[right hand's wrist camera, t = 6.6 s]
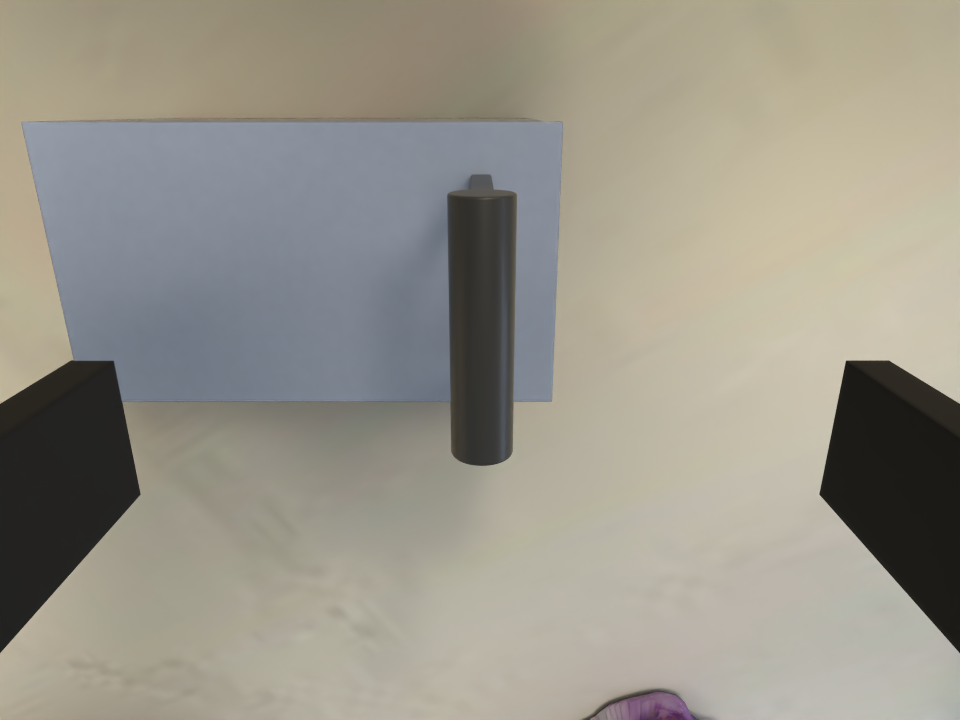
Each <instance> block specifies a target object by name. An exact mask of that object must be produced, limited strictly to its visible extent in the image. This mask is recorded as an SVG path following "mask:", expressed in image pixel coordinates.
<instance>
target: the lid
mask: <svg viewBox="0 0 960 720" xmlns="http://www.w3.org/2000/svg"><path fill="white" fill-rule="evenodd" d="M22 128H23V132H24V137H25V141H26V146H27V150H28V155H29V159H30V164H31V168H32V173H33V177H34V182H35V186H36V191H37V195H38V200H39V204H40V209H41V214H42V218H43V223H44V227H45V232H46V236H47V241H48V245H49V250H50V254H51V259H52V263H53V268H54V272H55V277H56V281H57V286H58V290H59V295H60V300H61V304H62V309H63V313H64V318H65V322H66V327H67V331H68V336H69V340H70V345H71V349H72V354H73V358H74V361H114V364H115V369H116V374H117V379H118V384H119V389H120V394H121V399H122V402H450V403H451V452H452V454H453V456H454V457H455V458H456V459H457V460H459V461H461V462H463V463H466V464H470V465H478V466H487V465H494V464H498V463H501V462H503V461H505V460H507V459H508V458H509V457H510V456H511V454H512V451H513V402H551V401H552V385H553V360H554V335H555V310H556V285H557V260H558V235H559V210H560V185H561V160H562V135H563V122H559V121H37V122H22Z"/></svg>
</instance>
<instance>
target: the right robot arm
mask: <svg viewBox="0 0 960 720" xmlns="http://www.w3.org/2000/svg"><path fill="white" fill-rule="evenodd" d="M139 496H140V489H139V484H138V479H137V474H136V469H135V464H134V459H133V454H132V449H131V444H130V439H129V434H128V429H127V424H126V419H125V414H124V409H123V404H122V399H121V394H120V389H119V384H118V379H117V374H116V369H115V364H114V361H70V362H68V363H66V364H65V365H63V366H62V367H60V368H58V369H57V370H55V371H53V372H52V373H50V374H48V375H47V376H45V377H44V378H42V379H40V380H39V381H37V382H35V383H34V384H32V385H30V386H29V387H27V388H26V389H24V390H22V391H21V392H19V393H17V394H16V395H14V396H12V397H11V398H9V399H7V400H6V401H4V402H3V403H1V404H0V653H1V651H2V650H3V649H4V648H5V647H6V646H7V645H8V644H9V642H10V641H11V640H12V639H13V638H14V637H15V636H16V635H17V633H18V632H19V631H20V630H21V629H22V628H23V627H24V625H25V624H26V623H27V622H28V621H29V620H30V619H31V618H32V616H33V615H34V614H35V613H36V612H37V611H38V610H39V609H40V607H41V606H42V605H43V604H44V603H45V602H46V601H47V600H48V598H49V597H50V596H51V595H52V594H53V593H54V592H55V590H56V589H57V588H58V587H59V586H60V585H61V584H62V583H63V581H64V580H65V579H66V578H67V577H68V576H69V575H70V574H71V572H72V571H73V570H74V569H75V568H76V567H77V566H78V564H79V563H80V562H81V561H82V560H83V559H84V558H85V557H86V555H87V554H88V553H89V552H90V551H91V550H92V549H93V548H94V546H95V545H96V544H97V543H98V542H99V541H100V540H101V539H102V537H103V536H104V535H105V534H106V533H107V532H108V531H109V529H110V528H111V527H112V526H113V525H114V524H115V523H116V522H117V520H118V519H119V518H120V517H121V516H122V515H123V514H124V513H125V511H126V510H127V509H128V508H129V507H130V506H131V505H132V504H133V502H134V501H135V500H136V499H137V498H138V497H139ZM820 496H821V497H822V498H823V499H824V500H825V501H826V502H827V504H828V505H829V506H830V507H831V508H832V509H833V510H834V511H835V513H836V514H837V515H838V516H839V517H840V518H841V519H842V520H843V522H844V523H845V524H846V525H847V526H848V527H849V528H850V529H851V531H852V532H853V533H854V534H855V535H856V536H857V537H858V539H859V540H860V541H861V542H862V543H863V544H864V545H865V546H866V548H867V549H868V550H869V551H870V552H871V553H872V554H873V555H874V557H875V558H876V559H877V560H878V561H879V562H880V563H881V565H882V566H883V567H884V568H885V569H886V570H887V571H888V572H889V574H890V575H891V576H892V577H893V578H894V579H895V580H896V581H897V583H898V584H899V585H900V586H901V587H902V588H903V589H904V590H905V592H906V593H907V594H908V595H909V596H910V597H911V598H912V600H913V601H914V602H915V603H916V604H917V605H918V606H919V607H920V609H921V610H922V611H923V612H924V613H925V614H926V615H927V616H928V618H929V619H930V620H931V621H932V622H933V623H934V624H935V625H936V627H937V628H938V629H939V630H940V631H941V632H942V633H943V635H944V636H945V637H946V638H947V639H948V640H949V641H950V642H951V644H952V645H953V646H954V647H955V648H956V649H957V650H958V651H959V653H960V404H959V403H957V402H956V401H954V400H952V399H951V398H949V397H948V396H946V395H944V394H943V393H941V392H939V391H938V390H936V389H934V388H933V387H931V386H930V385H928V384H926V383H925V382H923V381H921V380H920V379H918V378H916V377H915V376H913V375H912V374H910V373H908V372H907V371H905V370H903V369H902V368H900V367H898V366H897V365H895V364H894V363H892V362H890V361H846V364H845V369H844V374H843V379H842V384H841V389H840V394H839V399H838V404H837V409H836V414H835V419H834V424H833V429H832V434H831V439H830V444H829V449H828V454H827V459H826V464H825V469H824V474H823V479H822V484H821V489H820Z"/></svg>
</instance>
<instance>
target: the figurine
mask: <svg viewBox="0 0 960 720" xmlns="http://www.w3.org/2000/svg"><path fill="white" fill-rule="evenodd" d="M589 720H697V719H696V718H694V717H693V716H692V715H691V714H690V713H689V711H688V709H687V706H686V704H685V702H684V701H683V700H682V699H681V698H679V697H678V696H676V695H675V694H669V693H665V692H653V693H650V694H646V695H641V696H637V697H632V698H628V699H624V700H621V701H618V702H616V703H613V704H609V705H608V706H607V707H606V708H604V709H603V710H601V711H600V712H599V713H598V714H596V716H595V717H593V718H591V719H589Z"/></svg>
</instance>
